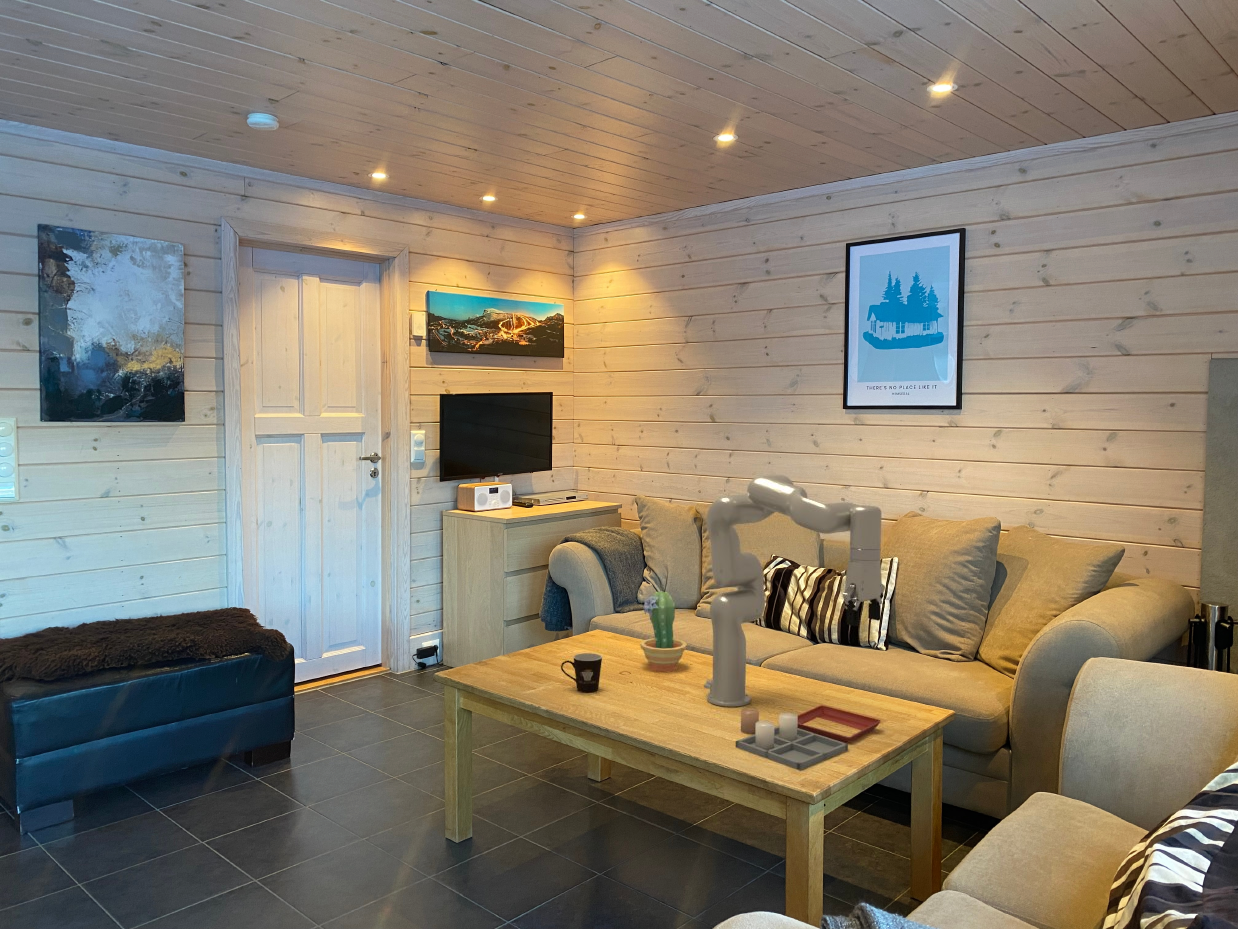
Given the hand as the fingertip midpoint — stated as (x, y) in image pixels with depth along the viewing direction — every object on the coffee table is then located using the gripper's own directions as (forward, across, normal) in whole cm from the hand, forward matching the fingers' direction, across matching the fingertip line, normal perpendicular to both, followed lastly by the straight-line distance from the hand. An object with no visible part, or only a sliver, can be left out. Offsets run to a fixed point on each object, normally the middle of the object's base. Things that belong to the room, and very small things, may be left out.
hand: (863, 622), depth 230 cm
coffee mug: (+31, +24, -81) cm, 90 cm away
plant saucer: (+31, -2, -10) cm, 33 cm away
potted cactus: (+31, -11, -82) cm, 88 cm away
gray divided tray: (+31, +19, -8) cm, 37 cm away
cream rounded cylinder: (+30, +14, -12) cm, 35 cm away
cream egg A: (+30, +23, -12) cm, 40 cm away
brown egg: (+31, +16, -23) cm, 42 cm away
